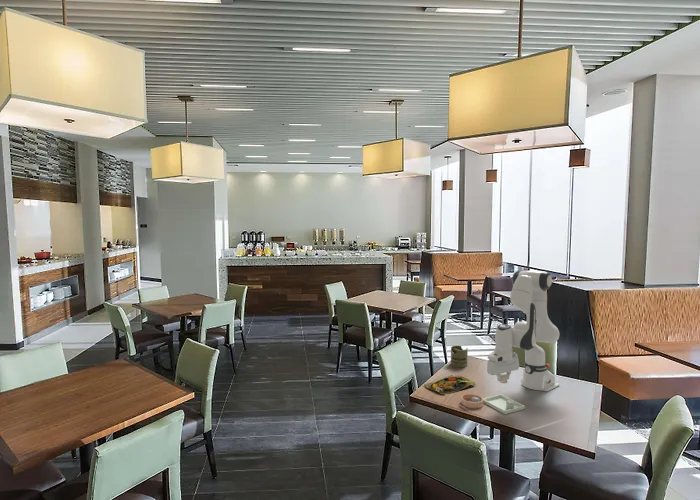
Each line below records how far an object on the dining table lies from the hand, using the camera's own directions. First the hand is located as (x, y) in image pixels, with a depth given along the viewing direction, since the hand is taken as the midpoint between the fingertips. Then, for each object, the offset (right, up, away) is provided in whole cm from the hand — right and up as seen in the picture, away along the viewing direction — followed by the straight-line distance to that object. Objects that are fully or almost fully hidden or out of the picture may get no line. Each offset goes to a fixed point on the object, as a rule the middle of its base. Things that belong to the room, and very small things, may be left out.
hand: (503, 379), depth 221 cm
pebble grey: (+2, -14, -4) cm, 15 cm away
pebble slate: (-15, -14, +1) cm, 21 cm away
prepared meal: (-22, -14, +28) cm, 38 cm away
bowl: (-16, -15, +3) cm, 22 cm away
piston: (-6, -11, +66) cm, 67 cm away
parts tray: (0, -15, +1) cm, 15 cm away
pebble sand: (0, -1, 0) cm, 1 cm away
